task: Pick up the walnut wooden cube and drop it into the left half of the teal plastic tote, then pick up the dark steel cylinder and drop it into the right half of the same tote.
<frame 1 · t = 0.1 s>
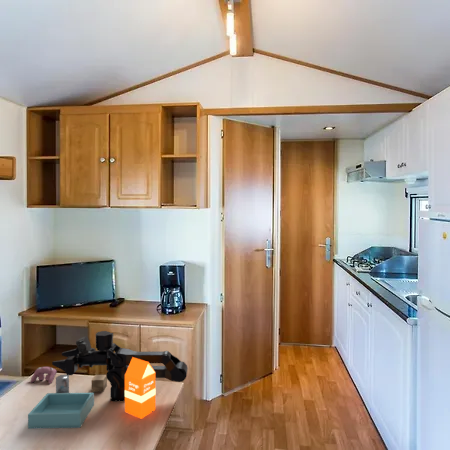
hand: (57, 358, 147), 17 cm above the table, tool horizontal, fingers open, 9 cm apart
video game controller: (43, 381, 163), on the table
walnut cube: (99, 388, 157), on the table
orange juice: (140, 411, 139), on the table
tote: (63, 416, 135), on the table
steel cylinder: (62, 393, 152), on the table
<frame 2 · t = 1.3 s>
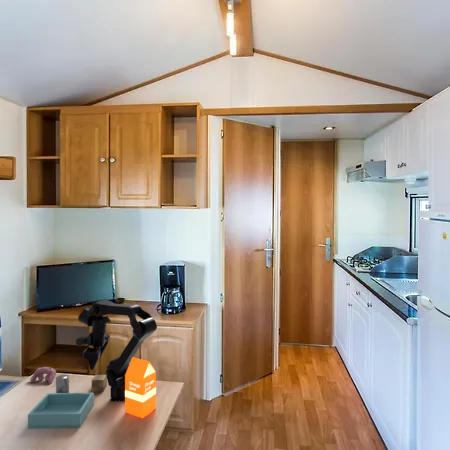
hand: (95, 364, 156), 11 cm above the table, tool pointing down, fingers open, 9 cm apart
nothing on the table moved.
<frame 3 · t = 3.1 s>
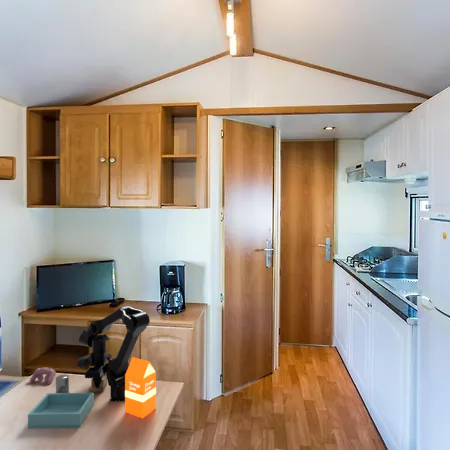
hand: (99, 385, 156), 2 cm above the table, tool pointing down, fingers closed on walnut cube, 5 cm apart
walnut cube: (99, 388, 157), on the table, touching gripper
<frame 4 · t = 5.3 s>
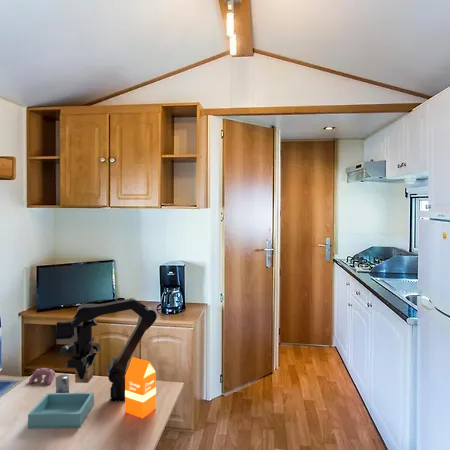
hand: (84, 376, 144), 11 cm above the table, tool pointing down, fingers closed on walnut cube, 5 cm apart
walnut cube: (84, 379, 144), point 10 cm above the table, touching gripper
when the fingers open (5 cm above the table, at t = 7.4 s): walnut cube drops 2 cm, resting on tote.
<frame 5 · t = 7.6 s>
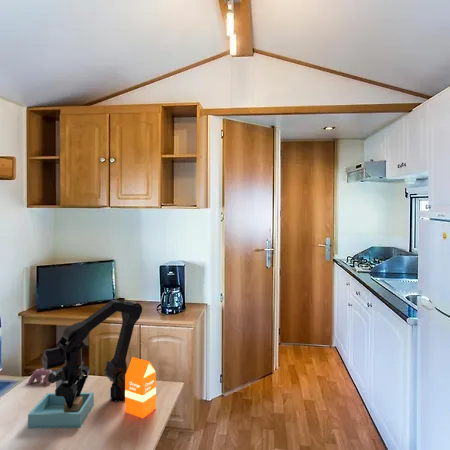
hand: (73, 402, 135), 5 cm above the table, tool pointing down, fingers open, 7 cm apart
walnut cube: (73, 413, 135), point 1 cm above the table, touching tote
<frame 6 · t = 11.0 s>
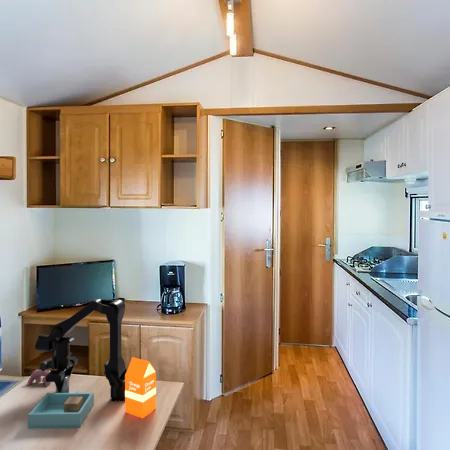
hand: (62, 388, 152), 2 cm above the table, tool pointing down, fingers closed on steel cylinder, 5 cm apart
steel cylinder: (62, 393, 152), on the table, touching gripper
when the fingers open (5 cm above the table, at t = 15.0 s): steel cylinder drops 2 cm, resting on tote.
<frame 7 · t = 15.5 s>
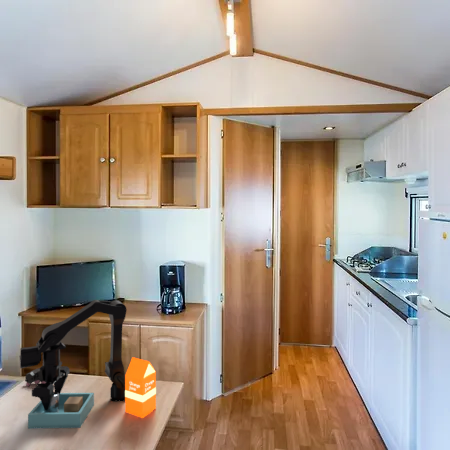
hand: (52, 403, 135), 5 cm above the table, tool pointing down, fingers open, 9 cm apart
steel cylinder: (51, 413, 135), point 1 cm above the table, touching tote
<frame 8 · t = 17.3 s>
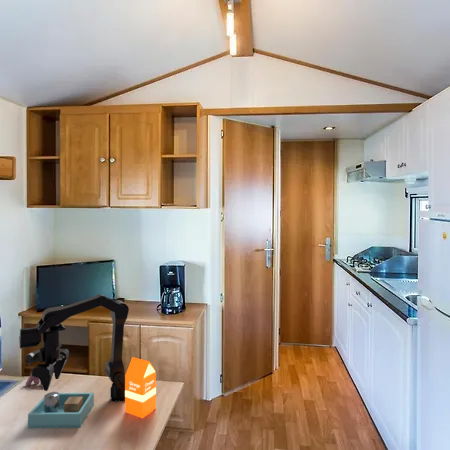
hand: (51, 384, 135), 12 cm above the table, tool pointing down, fingers open, 9 cm apart
at the end: walnut cube inside the target area on the tote (3.9 cm from its centre), point 1.0 cm above the tote's base; steel cylinder inside the target area on the tote (4.1 cm from its centre), point 1.0 cm above the tote's base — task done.
